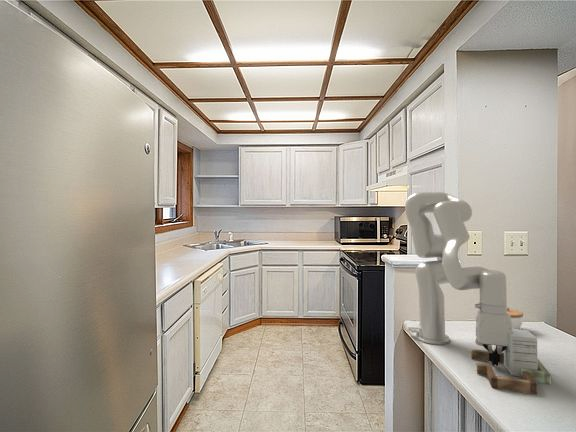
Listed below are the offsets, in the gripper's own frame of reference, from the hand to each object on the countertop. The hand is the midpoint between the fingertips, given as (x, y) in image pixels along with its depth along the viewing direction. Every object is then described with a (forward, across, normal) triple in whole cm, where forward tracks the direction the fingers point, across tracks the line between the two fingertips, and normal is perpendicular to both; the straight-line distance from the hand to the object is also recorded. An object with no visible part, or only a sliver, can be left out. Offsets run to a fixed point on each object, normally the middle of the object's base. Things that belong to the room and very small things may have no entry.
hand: (494, 364), depth 108 cm
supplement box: (+2, +7, 0) cm, 7 cm away
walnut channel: (+1, +3, 0) cm, 3 cm away
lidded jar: (+2, +13, +42) cm, 44 cm away
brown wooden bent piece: (+1, +2, -10) cm, 10 cm away
